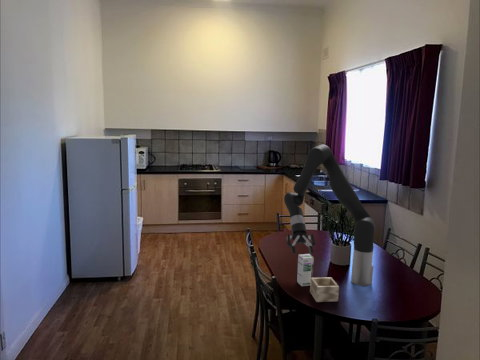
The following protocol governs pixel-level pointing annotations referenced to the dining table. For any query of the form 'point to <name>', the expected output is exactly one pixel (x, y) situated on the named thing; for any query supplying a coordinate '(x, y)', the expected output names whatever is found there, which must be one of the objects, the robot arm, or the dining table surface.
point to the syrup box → (305, 269)
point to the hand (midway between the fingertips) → (302, 254)
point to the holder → (324, 289)
